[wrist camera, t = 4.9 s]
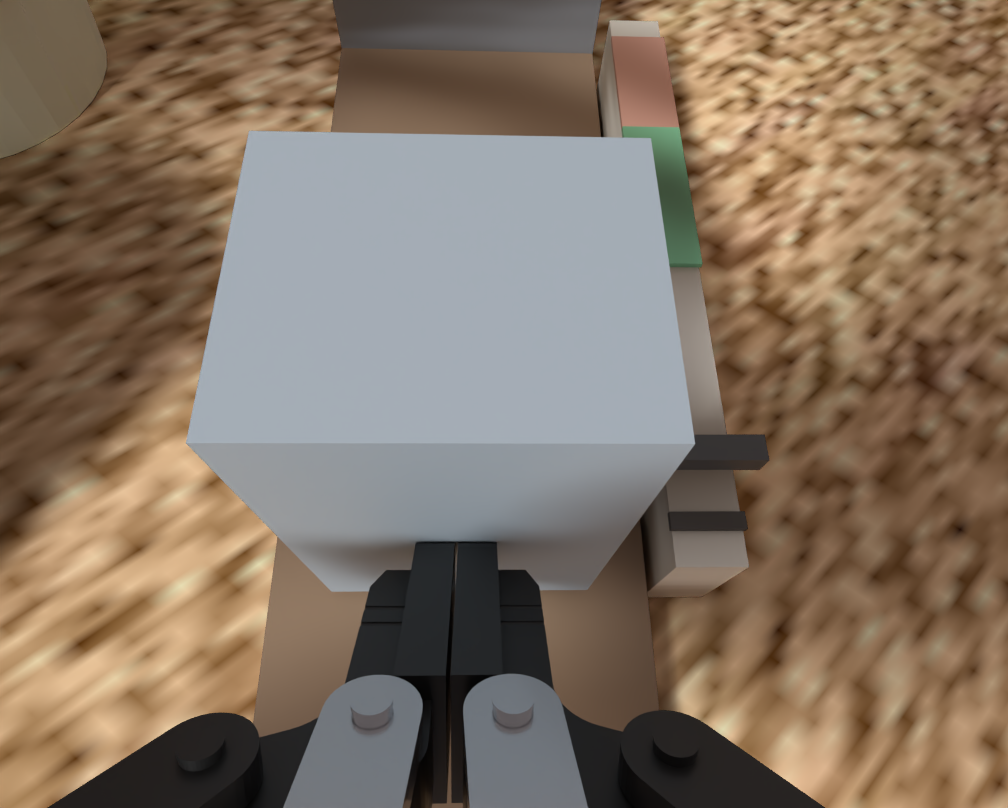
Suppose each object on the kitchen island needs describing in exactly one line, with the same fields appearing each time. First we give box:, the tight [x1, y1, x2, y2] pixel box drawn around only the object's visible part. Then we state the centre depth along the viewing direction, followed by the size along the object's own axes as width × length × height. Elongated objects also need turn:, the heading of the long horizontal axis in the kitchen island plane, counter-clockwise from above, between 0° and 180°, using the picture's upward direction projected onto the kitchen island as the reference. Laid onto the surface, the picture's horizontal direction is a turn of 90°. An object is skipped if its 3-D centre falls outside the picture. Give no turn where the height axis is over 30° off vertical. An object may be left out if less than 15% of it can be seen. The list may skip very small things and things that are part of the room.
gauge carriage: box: [186, 131, 769, 592], centre depth 14 cm, size 8×10×9 cm
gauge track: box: [253, 0, 749, 808], centre depth 17 cm, size 28×11×12 cm, turn 1°
